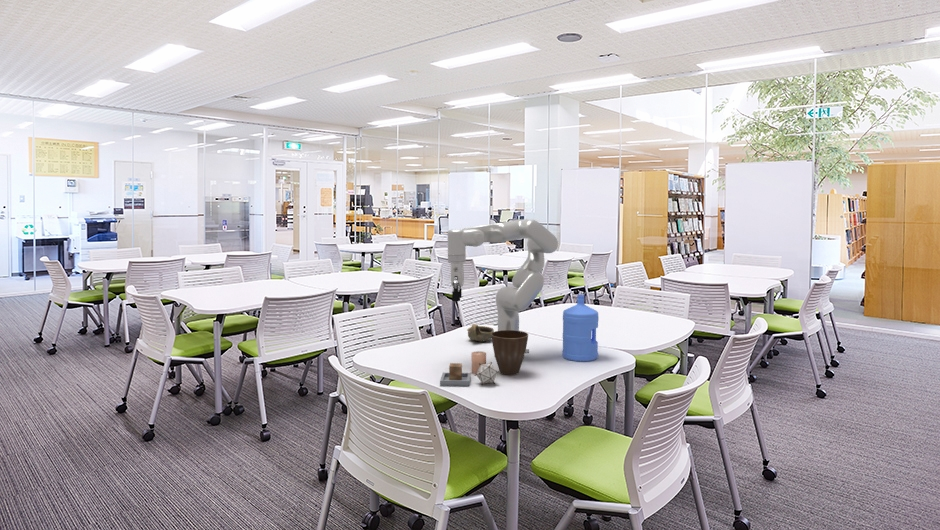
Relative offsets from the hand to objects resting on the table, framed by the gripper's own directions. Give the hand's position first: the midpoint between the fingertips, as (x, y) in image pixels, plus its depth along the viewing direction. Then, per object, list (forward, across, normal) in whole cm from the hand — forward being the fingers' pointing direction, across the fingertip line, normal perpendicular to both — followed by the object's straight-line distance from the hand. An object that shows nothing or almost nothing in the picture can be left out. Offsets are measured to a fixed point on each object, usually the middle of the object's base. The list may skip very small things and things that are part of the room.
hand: (457, 299), depth 237 cm
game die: (+28, -26, -13) cm, 41 cm away
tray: (+28, -24, -1) cm, 37 cm away
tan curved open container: (+29, +44, -8) cm, 53 cm away
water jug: (+28, +14, -54) cm, 63 cm away
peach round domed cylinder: (+28, -11, -10) cm, 32 cm away
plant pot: (+28, -11, -22) cm, 38 cm away
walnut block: (+28, -24, -1) cm, 37 cm away
